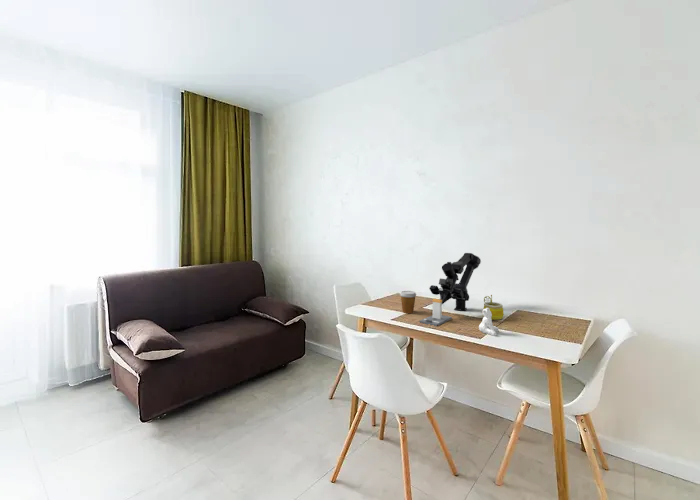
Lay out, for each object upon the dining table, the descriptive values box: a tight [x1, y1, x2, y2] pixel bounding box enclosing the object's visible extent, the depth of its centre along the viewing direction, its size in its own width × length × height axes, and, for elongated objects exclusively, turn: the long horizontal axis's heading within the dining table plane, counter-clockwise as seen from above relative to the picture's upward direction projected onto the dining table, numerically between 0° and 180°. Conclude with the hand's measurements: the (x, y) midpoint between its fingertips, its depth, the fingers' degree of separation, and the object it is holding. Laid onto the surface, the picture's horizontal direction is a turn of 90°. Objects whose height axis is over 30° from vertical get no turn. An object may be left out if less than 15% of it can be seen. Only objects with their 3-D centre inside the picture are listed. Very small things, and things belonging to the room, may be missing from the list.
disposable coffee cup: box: [399, 290, 417, 314], centre depth 202 cm, size 10×10×12 cm
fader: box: [431, 298, 443, 319], centre depth 185 cm, size 2×5×10 cm, turn 48°
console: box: [419, 314, 453, 327], centre depth 185 cm, size 18×10×2 cm, turn 138°
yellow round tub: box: [482, 294, 505, 321], centre depth 190 cm, size 13×11×12 cm
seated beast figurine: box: [478, 308, 500, 337], centre depth 165 cm, size 10×9×12 cm
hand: (441, 304), depth 188 cm, fingers closed
